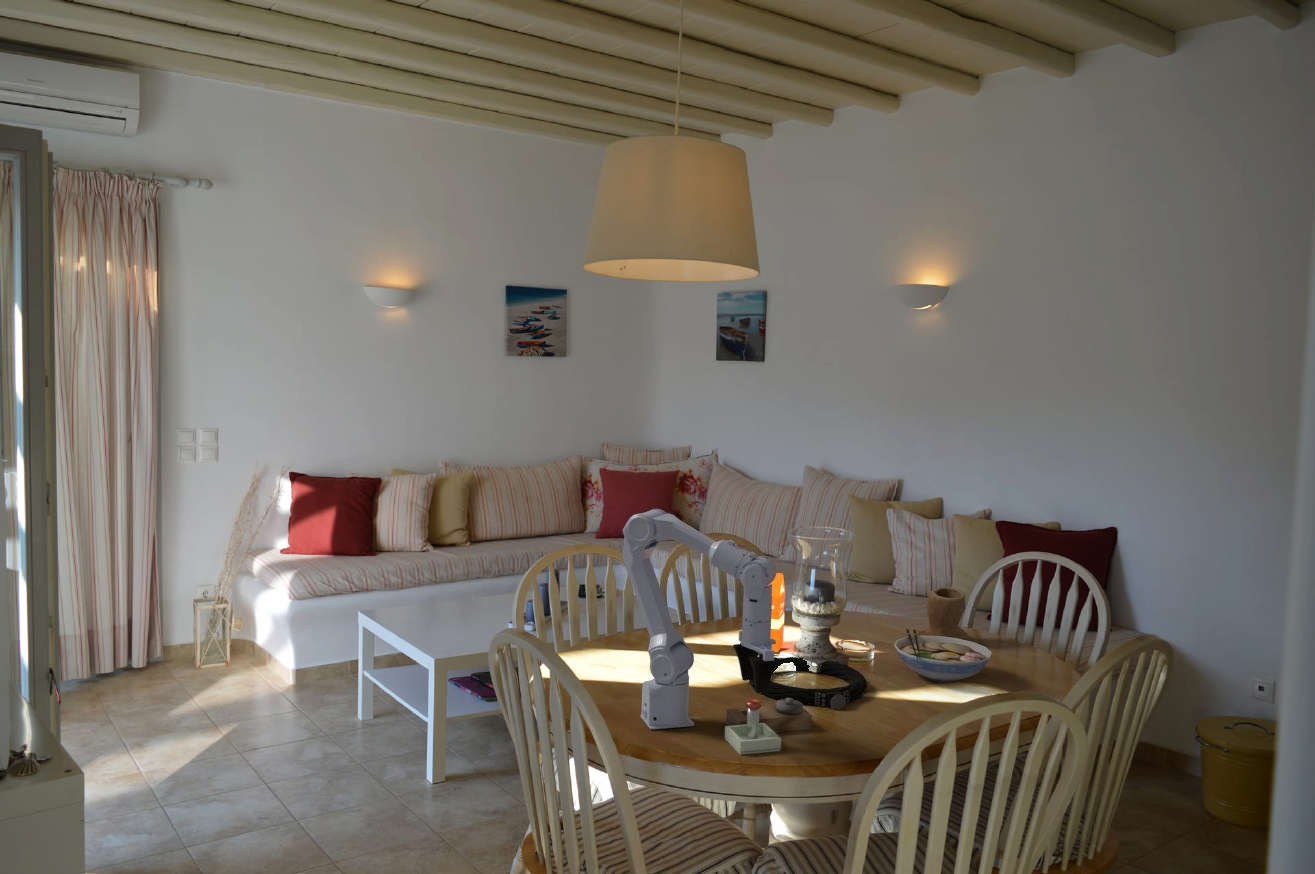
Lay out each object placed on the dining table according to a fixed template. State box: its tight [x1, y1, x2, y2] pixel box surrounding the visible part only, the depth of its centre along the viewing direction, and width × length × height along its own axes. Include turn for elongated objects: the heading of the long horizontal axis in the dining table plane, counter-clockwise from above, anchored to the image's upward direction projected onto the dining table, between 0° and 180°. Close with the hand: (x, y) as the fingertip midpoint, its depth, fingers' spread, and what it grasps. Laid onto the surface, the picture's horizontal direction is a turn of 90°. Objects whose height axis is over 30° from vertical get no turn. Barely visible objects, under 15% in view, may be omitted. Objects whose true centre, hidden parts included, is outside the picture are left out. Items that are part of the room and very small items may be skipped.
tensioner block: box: [725, 698, 813, 733], centre depth 203 cm, size 16×7×5 cm, turn 106°
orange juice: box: [767, 572, 786, 653], centre depth 262 cm, size 8×9×20 cm
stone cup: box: [916, 586, 969, 640], centre depth 270 cm, size 15×12×15 cm
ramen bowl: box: [893, 628, 993, 683], centre depth 239 cm, size 25×23×8 cm
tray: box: [724, 723, 782, 755], centre depth 193 cm, size 8×8×2 cm
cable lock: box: [748, 656, 868, 711], centre depth 229 cm, size 28×4×30 cm
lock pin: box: [745, 698, 762, 740], centre depth 193 cm, size 3×3×8 cm
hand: (754, 686), depth 197 cm, fingers open, 7 cm apart
